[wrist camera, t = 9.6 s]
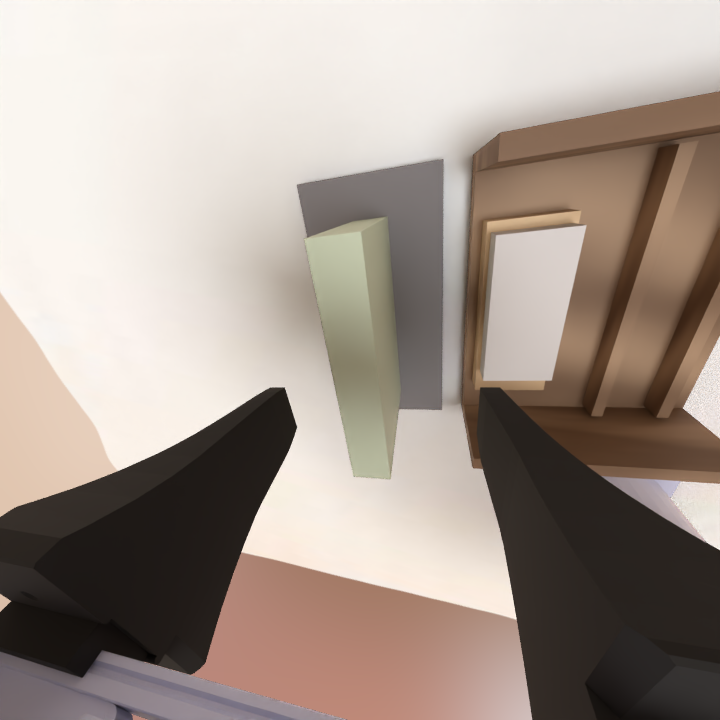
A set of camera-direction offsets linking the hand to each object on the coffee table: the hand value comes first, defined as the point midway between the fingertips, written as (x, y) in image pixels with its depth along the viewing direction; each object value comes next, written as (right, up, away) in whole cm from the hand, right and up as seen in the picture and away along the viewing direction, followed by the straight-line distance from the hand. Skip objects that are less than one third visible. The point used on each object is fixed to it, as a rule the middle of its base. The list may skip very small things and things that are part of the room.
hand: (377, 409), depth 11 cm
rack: (+12, +5, +6) cm, 15 cm away
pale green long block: (+1, +5, +9) cm, 10 cm away
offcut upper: (+8, +5, +5) cm, 11 cm away
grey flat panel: (+1, +5, +9) cm, 10 cm away
